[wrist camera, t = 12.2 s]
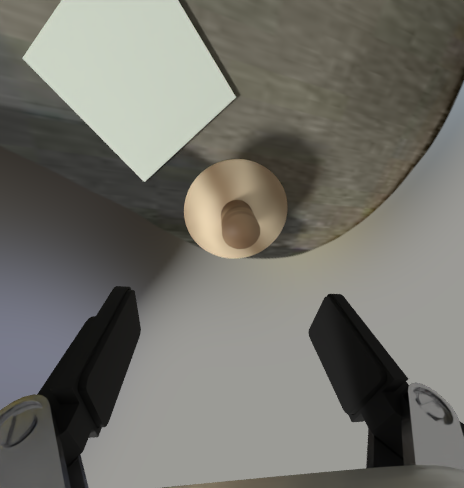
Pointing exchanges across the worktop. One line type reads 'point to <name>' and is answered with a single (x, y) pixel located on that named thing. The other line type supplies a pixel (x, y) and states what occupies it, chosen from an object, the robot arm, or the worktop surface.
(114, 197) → the worktop surface
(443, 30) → the worktop surface
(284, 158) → the worktop surface
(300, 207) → the worktop surface
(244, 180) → the lid
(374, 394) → the robot arm
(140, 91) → the mat
